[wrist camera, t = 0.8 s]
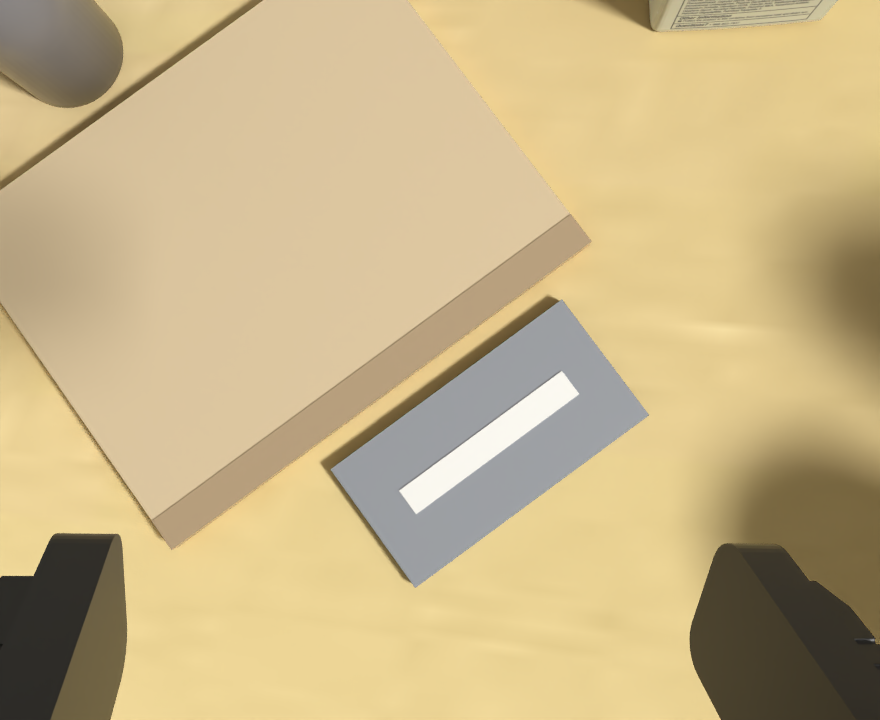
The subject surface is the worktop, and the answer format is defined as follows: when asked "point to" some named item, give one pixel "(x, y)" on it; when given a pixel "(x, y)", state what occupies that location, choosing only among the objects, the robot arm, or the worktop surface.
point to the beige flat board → (309, 281)
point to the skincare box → (732, 13)
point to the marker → (59, 49)
